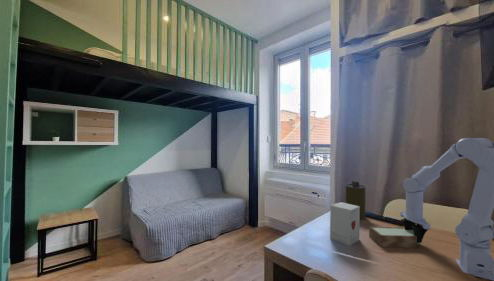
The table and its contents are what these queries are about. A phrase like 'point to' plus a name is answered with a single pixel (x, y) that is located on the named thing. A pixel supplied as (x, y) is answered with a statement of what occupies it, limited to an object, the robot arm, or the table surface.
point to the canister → (356, 196)
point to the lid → (394, 231)
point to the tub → (392, 239)
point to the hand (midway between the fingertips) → (414, 239)
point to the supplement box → (344, 223)
